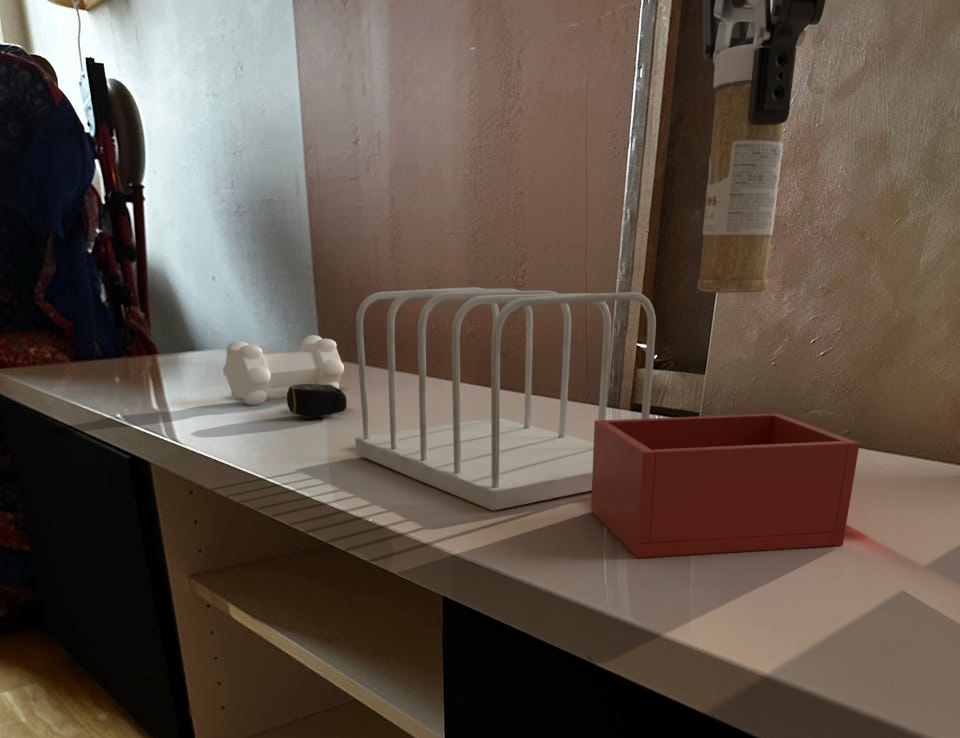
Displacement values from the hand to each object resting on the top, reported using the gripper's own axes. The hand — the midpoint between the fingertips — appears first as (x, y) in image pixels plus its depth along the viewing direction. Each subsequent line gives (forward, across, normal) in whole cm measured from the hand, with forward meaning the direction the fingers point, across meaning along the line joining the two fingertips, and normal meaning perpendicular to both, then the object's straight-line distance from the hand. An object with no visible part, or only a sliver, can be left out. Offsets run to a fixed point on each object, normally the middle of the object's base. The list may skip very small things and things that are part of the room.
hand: (748, 128), depth 53 cm
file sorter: (+26, +22, +12) cm, 36 cm away
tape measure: (+26, +55, +29) cm, 67 cm away
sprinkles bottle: (+10, 0, 0) cm, 10 cm away
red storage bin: (+25, 0, 0) cm, 25 cm away
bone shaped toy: (+26, +70, +34) cm, 82 cm away
